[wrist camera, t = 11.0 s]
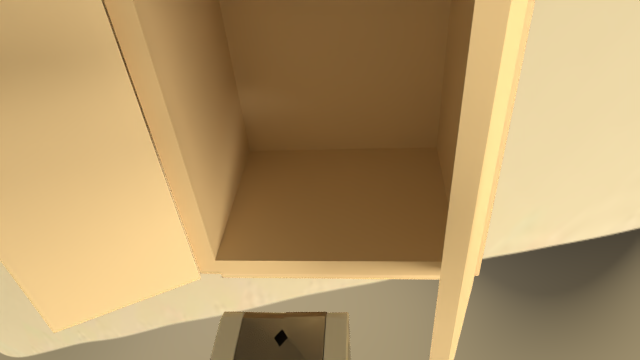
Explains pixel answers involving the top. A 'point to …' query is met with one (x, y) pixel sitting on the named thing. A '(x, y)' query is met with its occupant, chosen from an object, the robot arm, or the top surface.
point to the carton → (307, 128)
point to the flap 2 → (475, 159)
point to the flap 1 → (79, 169)
